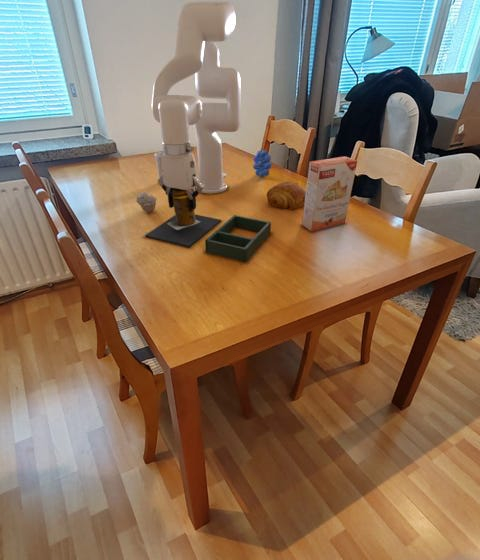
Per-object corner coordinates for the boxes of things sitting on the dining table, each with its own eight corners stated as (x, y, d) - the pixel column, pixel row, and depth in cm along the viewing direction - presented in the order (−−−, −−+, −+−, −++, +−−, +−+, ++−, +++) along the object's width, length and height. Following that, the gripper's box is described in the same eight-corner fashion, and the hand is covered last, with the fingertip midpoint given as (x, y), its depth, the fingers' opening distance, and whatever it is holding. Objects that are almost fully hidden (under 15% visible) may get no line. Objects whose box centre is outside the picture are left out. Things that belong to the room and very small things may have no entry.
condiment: (201, 222, 112) (195, 184, 106) (177, 230, 108) (170, 191, 102) (189, 217, 117) (183, 180, 111) (166, 224, 113) (159, 187, 107)
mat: (180, 213, 125) (180, 211, 124) (221, 221, 119) (220, 219, 119) (145, 237, 110) (145, 235, 109) (189, 247, 104) (189, 246, 104)
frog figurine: (136, 210, 127) (133, 191, 123) (156, 207, 129) (153, 188, 125) (139, 216, 122) (136, 197, 118) (160, 213, 124) (157, 194, 120)
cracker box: (312, 233, 112) (320, 166, 100) (301, 225, 116) (308, 161, 104) (346, 224, 117) (358, 159, 105) (334, 217, 122) (344, 154, 110)
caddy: (234, 226, 116) (234, 214, 114) (270, 233, 111) (270, 222, 109) (205, 252, 102) (204, 240, 99) (245, 262, 97) (245, 249, 95)
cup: (154, 184, 148) (150, 155, 141) (164, 178, 154) (161, 150, 148) (171, 187, 146) (167, 157, 139) (180, 181, 152) (178, 152, 145)
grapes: (277, 179, 154) (279, 151, 147) (265, 182, 151) (266, 153, 144) (261, 172, 162) (262, 145, 155) (249, 175, 158) (250, 147, 152)
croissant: (260, 208, 133) (258, 188, 128) (285, 191, 141) (284, 172, 136) (291, 218, 125) (290, 197, 120) (316, 200, 133) (316, 180, 128)
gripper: (210, 148, 100) (212, 208, 110) (159, 142, 106) (166, 199, 116) (196, 155, 94) (200, 217, 104) (143, 148, 100) (152, 207, 110)
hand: (182, 207), depth 110 cm, fingers closed on condiment, 6 cm apart
